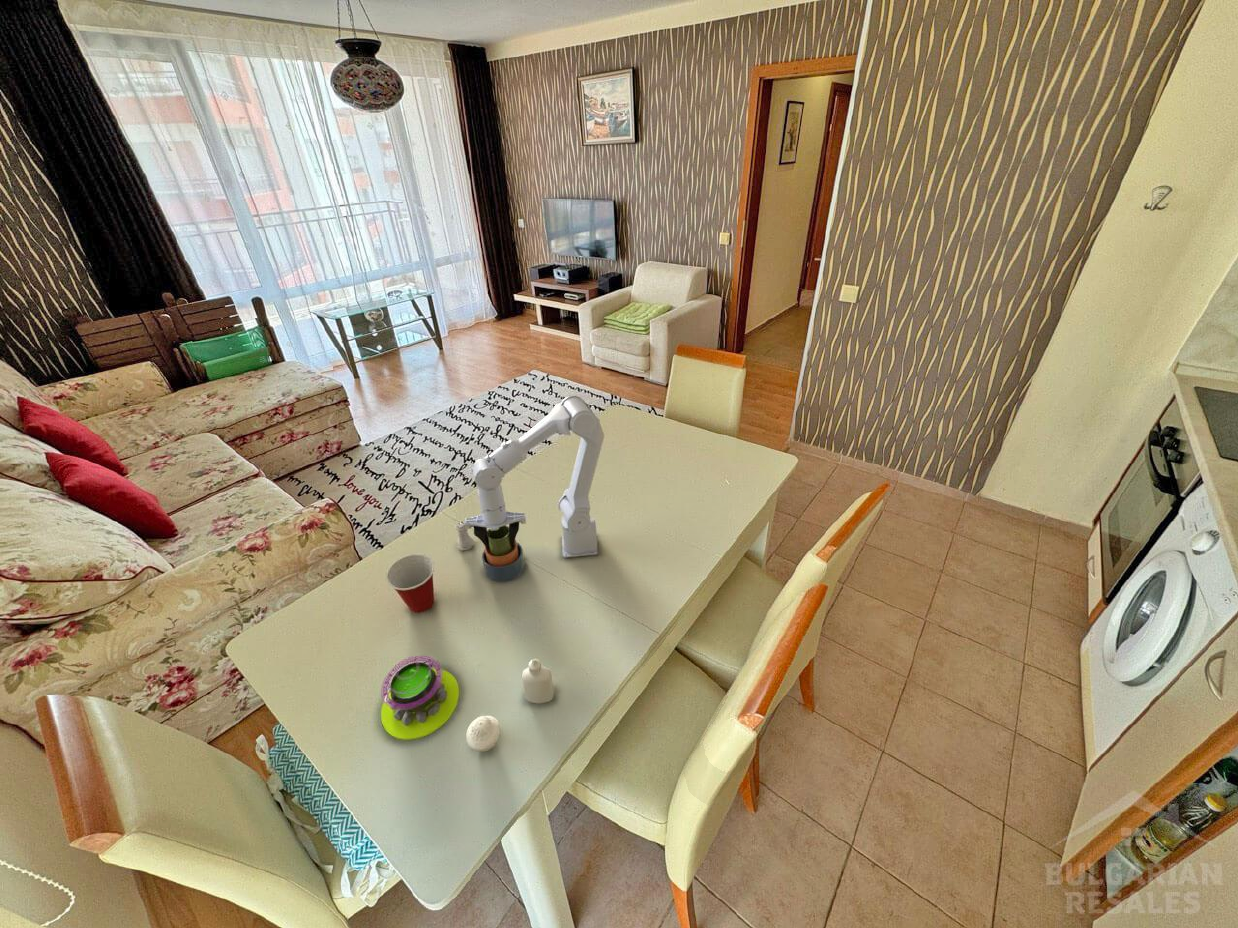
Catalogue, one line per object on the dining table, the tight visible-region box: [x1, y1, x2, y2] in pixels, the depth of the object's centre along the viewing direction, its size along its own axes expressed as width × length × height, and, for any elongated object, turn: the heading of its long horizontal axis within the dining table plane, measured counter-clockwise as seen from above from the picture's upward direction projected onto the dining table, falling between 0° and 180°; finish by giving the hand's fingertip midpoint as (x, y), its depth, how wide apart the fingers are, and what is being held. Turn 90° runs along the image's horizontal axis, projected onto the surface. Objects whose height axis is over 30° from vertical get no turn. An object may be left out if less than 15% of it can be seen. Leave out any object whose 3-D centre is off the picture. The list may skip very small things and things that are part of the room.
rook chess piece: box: [454, 520, 475, 551], centre depth 135 cm, size 4×4×8 cm
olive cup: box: [486, 525, 513, 557], centre depth 125 cm, size 6×6×6 cm
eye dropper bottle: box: [521, 657, 555, 704], centre depth 96 cm, size 4×6×12 cm
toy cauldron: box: [380, 654, 460, 741], centre depth 96 cm, size 15×15×11 cm
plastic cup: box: [385, 552, 435, 614], centre depth 116 cm, size 11×11×12 cm
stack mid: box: [484, 539, 519, 567], centre depth 128 cm, size 8×8×8 cm
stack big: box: [481, 542, 526, 583], centre depth 129 cm, size 10×10×5 cm
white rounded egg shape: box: [465, 715, 501, 752], centre depth 90 cm, size 6×6×7 cm
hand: (500, 545), depth 126 cm, fingers closed on olive cup, 6 cm apart
